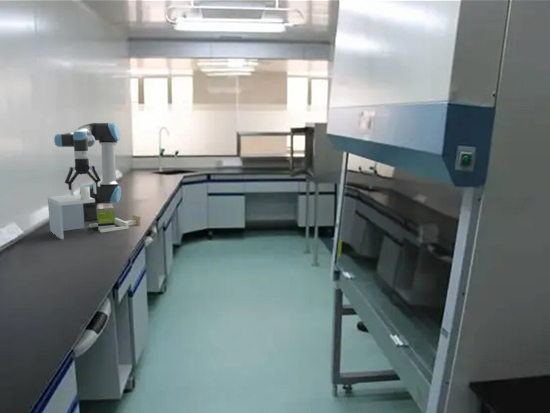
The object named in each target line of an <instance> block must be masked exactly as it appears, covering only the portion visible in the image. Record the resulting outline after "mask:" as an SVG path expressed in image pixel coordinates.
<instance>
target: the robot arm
mask: <svg viewBox="0 0 550 413" xmlns="http://www.w3.org/2000/svg"><path fill="white" fill-rule="evenodd" d="M120 140H121V131H120V128H119V126H118V125H117V124H116V123H114V122H92V123H88V124H83V125H82V126H79V127H78V128H77V129H75V130H73V131H70V132H65V133H57V134H55V136H54V140H53V141H54V145H55V146H56V147H60V148H73V151H74V152H73V153H74V167H73V166H69V169H68V170H69V171H68V173H67V175H66V178H65V180H64V183H65V184H67V185H68V190H69V191H70V195H72V196H74V195H75V194H74V185H73V183H74V181H75V180H76V179H77V177H78V176H79V175H88V176H89V177H90V179H91V180H92V181H93V182H92V184H85V185H84V186H89V187H90V197H91V198H94V199H95V202H93V203H83V212H84V221H97V205H100V204H118V203H119V202H120V199H121V197H122V187H121V186H119V183H118V182H117V181H116V180H117V179H116V145H118V141H120ZM96 141H98V143H99V145H100V146H101V174H102V177H101V178H102V181H101V178H100V176H99V174H98V173H97V171H96V168H95V166H94V165H91V166H90V162H89V148H91V147H92V146H94V145H95V143H96ZM90 170H91V171H92V173H93V175H94V176H93V175H92V174H91V172H90ZM74 171H75V173H74V174H73V172H74ZM99 182H100V184H98V183H99Z"/></svg>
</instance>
